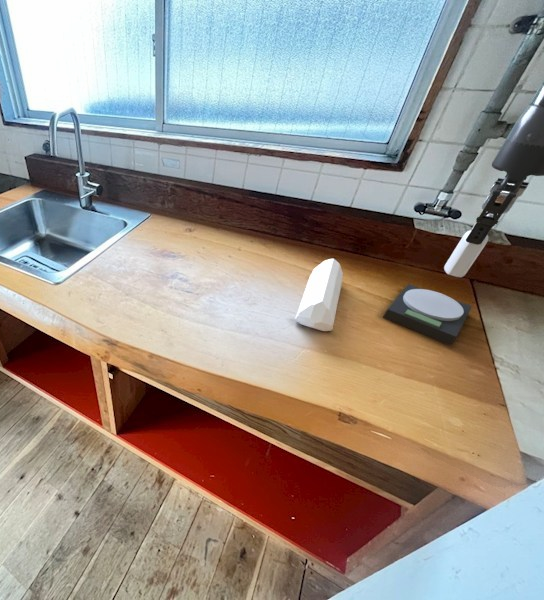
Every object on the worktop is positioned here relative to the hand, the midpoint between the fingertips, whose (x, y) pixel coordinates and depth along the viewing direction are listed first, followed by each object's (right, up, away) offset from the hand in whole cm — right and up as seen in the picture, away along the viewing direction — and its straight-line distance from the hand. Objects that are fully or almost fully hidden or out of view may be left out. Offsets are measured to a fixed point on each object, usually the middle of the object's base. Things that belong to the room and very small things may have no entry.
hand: (476, 237), depth 60 cm
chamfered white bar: (-21, -13, +16) cm, 29 cm away
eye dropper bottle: (0, -6, +5) cm, 8 cm away
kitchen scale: (0, -15, +11) cm, 19 cm away
